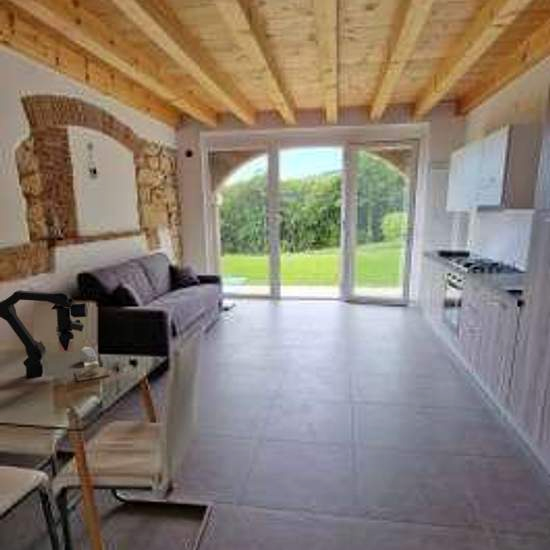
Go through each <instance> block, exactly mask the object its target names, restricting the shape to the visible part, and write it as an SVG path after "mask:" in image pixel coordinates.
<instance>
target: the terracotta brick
mask: <svg viewBox="0 0 550 550" xmlns="http://www.w3.org/2000/svg"><path fill="white" fill-rule="evenodd" d="M73 344H74V343H73V339H71V340H69V345H68V350H67V351H65V350H64V348H63V346H62V345H61V343H60V341H59V340H58V341H57V347H58V348H57V349H58V354H67V353H73V352H74V345H73Z"/></svg>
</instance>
